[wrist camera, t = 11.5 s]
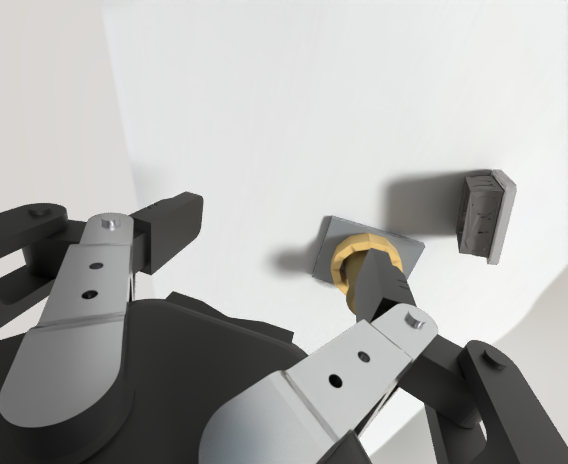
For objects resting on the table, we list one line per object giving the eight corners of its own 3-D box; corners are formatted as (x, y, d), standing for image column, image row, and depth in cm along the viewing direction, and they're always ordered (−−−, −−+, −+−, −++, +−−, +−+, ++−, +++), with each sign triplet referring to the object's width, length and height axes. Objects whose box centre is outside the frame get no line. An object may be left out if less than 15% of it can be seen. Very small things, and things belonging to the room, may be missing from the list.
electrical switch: (485, 235, 37) (516, 268, 29) (443, 233, 38) (461, 265, 30) (499, 167, 33) (539, 184, 25) (452, 169, 35) (476, 185, 27)
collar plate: (332, 215, 40) (331, 225, 36) (423, 242, 39) (431, 256, 35) (312, 272, 45) (309, 287, 41) (393, 298, 44) (397, 315, 40)
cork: (378, 281, 42) (388, 332, 32) (340, 274, 43) (338, 321, 33) (387, 248, 39) (401, 292, 29) (346, 241, 40) (347, 282, 30)
